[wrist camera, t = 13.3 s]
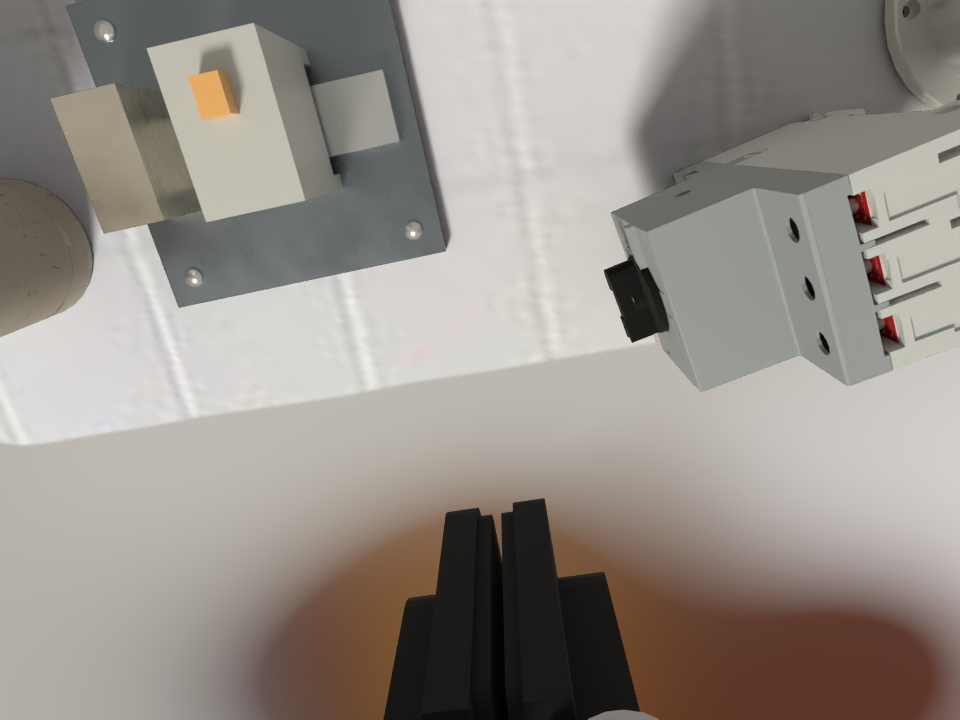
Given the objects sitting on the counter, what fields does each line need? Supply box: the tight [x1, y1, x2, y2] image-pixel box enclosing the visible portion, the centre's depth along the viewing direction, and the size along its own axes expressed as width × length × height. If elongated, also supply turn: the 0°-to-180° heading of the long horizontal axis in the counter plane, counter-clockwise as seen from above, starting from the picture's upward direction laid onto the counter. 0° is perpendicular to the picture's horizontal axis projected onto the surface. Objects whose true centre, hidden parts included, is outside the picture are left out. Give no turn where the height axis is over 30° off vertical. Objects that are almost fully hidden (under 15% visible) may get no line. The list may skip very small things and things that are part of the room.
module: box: [147, 23, 343, 222], centre depth 30 cm, size 4×7×9 cm, turn 12°
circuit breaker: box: [604, 100, 960, 392], centre depth 29 cm, size 8×14×15 cm, turn 113°
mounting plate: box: [50, 0, 446, 308], centre depth 32 cm, size 16×16×7 cm
